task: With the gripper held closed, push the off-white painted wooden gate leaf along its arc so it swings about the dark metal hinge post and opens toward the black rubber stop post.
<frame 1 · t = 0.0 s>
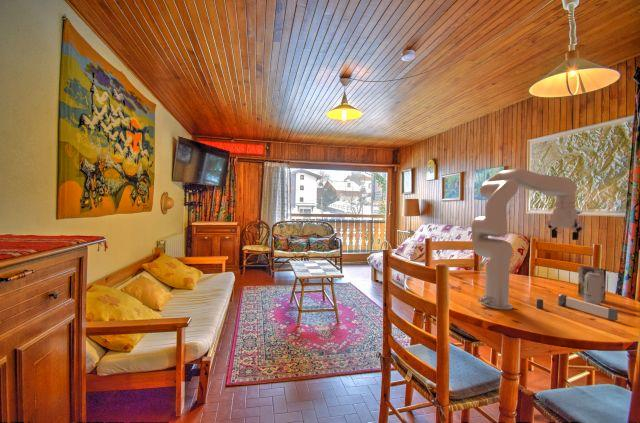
hand: (564, 238, 147), 31 cm above the table, fingers open, 9 cm apart
gate post: (562, 305, 136), on the table
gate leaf: (589, 307, 126), point 3 cm above the table, hinge at 0.0°
stop post: (539, 308, 132), on the table
energy drink can: (592, 304, 140), on the table
coffee box: (591, 298, 148), on the table
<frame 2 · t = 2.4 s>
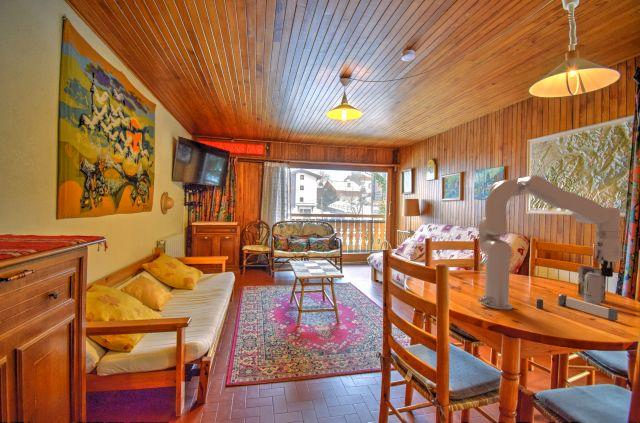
hand: (607, 276, 126), 17 cm above the table, fingers closed
nothing on the table moved.
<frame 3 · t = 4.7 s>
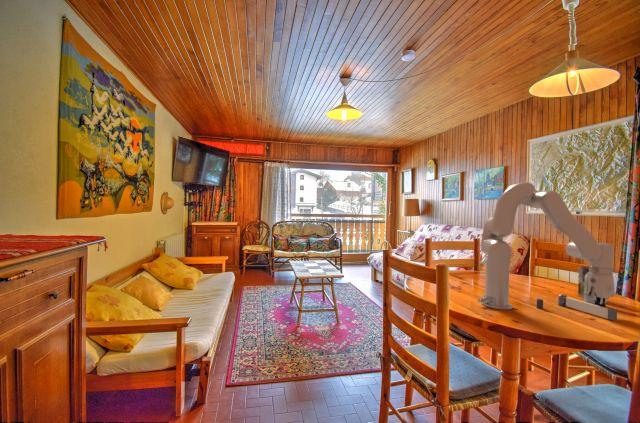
hand: (599, 312, 125), 1 cm above the table, fingers closed
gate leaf: (589, 307, 126), point 3 cm above the table, hinge at 1.3°, touching gripper
everything else where it was.
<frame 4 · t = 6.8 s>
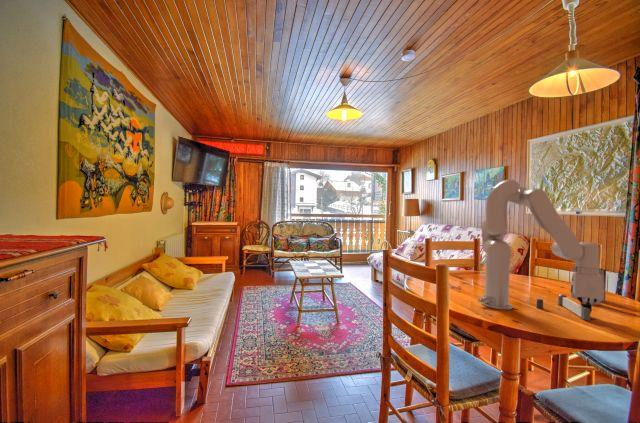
hand: (586, 312, 123), 1 cm above the table, fingers closed
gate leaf: (575, 307, 126), point 3 cm above the table, hinge at 35.1°, touching gripper
everything else where it was.
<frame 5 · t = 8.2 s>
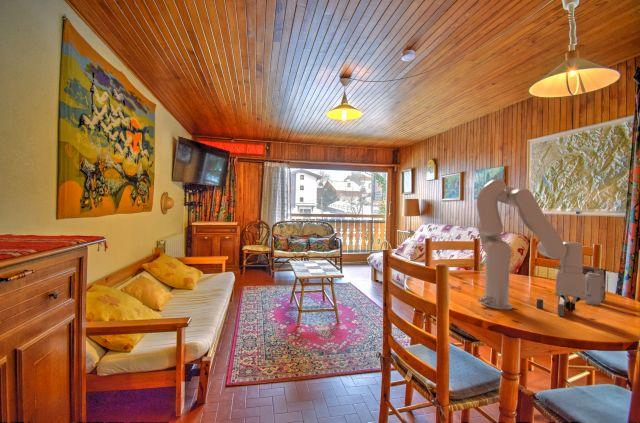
hand: (570, 310, 125), 1 cm above the table, fingers closed
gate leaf: (561, 305, 128), point 3 cm above the table, hinge at 59.3°, touching gripper
everything else where it was.
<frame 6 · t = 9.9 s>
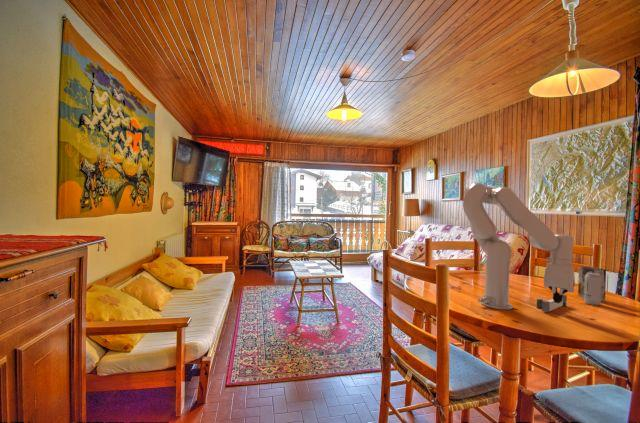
hand: (557, 302, 127), 4 cm above the table, fingers closed
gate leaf: (553, 303, 130), point 3 cm above the table, hinge at 75.0°
everything else where it was.
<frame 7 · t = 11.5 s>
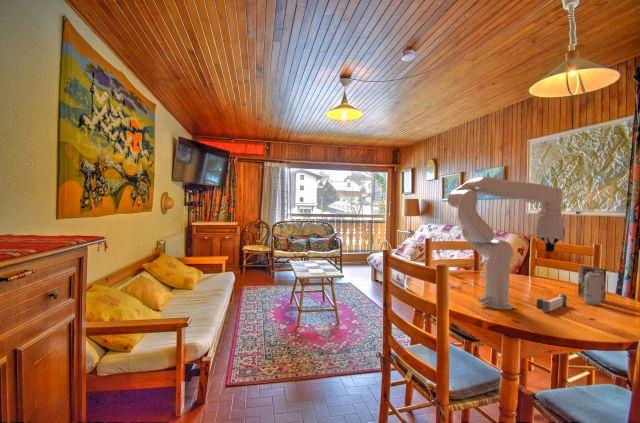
hand: (549, 251, 136), 26 cm above the table, fingers closed
nothing on the table moved.
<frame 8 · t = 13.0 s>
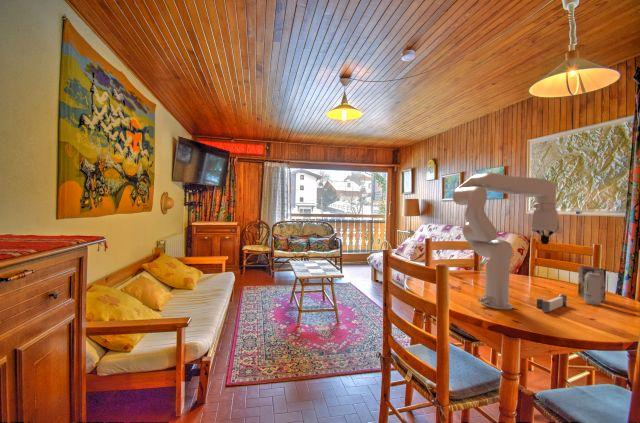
hand: (544, 243, 141), 29 cm above the table, fingers closed
nothing on the table moved.
at the end: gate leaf at +75° (first picture: +0°); energy drink can moved 0.2 cm from its start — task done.
